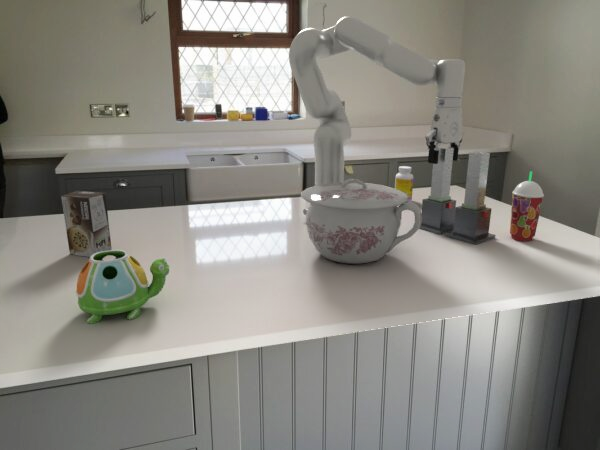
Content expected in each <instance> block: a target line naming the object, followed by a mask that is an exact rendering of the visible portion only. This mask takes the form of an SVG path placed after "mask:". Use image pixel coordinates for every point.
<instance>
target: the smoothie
mask: <svg viewBox="0 0 600 450" xmlns="http://www.w3.org/2000/svg"><path fill="white" fill-rule="evenodd" d="M532 176H533V171H529V176H528V180H524V181H522V182H520V183H518V184H517V185H516V186H515V188H514V189H513V190H512V193H511V194H512V196H511V211H510V227H509V228H510V229H509V234H510V237H511V239H513V240H516V241H519V242H530V241H533V239H534V237H535V236H536V232H537V228H538V224H539V218H540V214H541V210H542V206H543V200H544V197H545V194H544V193H543V192H544V191H543V189H542V187H541V186H540V185H539V183H537V182H536V181H532V178H533V177H532Z"/></svg>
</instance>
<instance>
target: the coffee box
mask: <svg viewBox="0 0 600 450" xmlns="http://www.w3.org/2000/svg"><path fill="white" fill-rule="evenodd" d="M106 194H107V193H106V192H96V191H88V190H87V191H86V190H75V191H72V192H69V193H67V194H64V195H61V204H62V210H63V218H64V224H65V230H66V231H65V232H66V237H67V244H68V250H69V251H68V252H69V255H71V254H73V255H72V256H81V257H88V258H90V257H91V256H92V255H93V254H95V253H97V252H102V251H109V250H113V248H112V241H111V230H110V223H109V214H108V207H107V196H106Z"/></svg>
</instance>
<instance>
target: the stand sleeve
mask: <svg viewBox="0 0 600 450" xmlns="http://www.w3.org/2000/svg"><path fill="white" fill-rule="evenodd" d="M421 204H422V205H421V213H422V223H421V226H420V228H419V230H424V231H427V232H431V233H434V234H438V235H444V234H446V233H448V232H451V231H453V229H454V219H455V209H456V207H457V200H456V199H452V198H451V200H449V201H448V202H443V203H439V202H435V201H431V200H430V199H428V197H427V198H423V199H422V203H421Z"/></svg>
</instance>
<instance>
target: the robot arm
mask: <svg viewBox="0 0 600 450" xmlns="http://www.w3.org/2000/svg"><path fill="white" fill-rule="evenodd" d="M347 51H353V52H355V53H356V54H358V55H360V56H362V57H364V58H365V59H368V60H369V61H370V62H371V63H375V64H376V65H378V66H379V67H381V68H383V69H385V70H388V71H390V72H391V73H393V74H395V75H396V76H398V77H400V78H402V79H404V80H405V81H408V82H409V83H411V84H413V85H416V86H418V87H419V86H421V87H422V86H428V85H429V86H430V85H436V86H435V95H434V96H435V99H434V110H433V113H432V116H431V123H430V131H429V132H428V133H426V135H425V136H424V137H425V141H426V142H425V143H426V144H425V145H426V146H427V149H428V156H427V157H428V159H427V163H428V164H432V165H433V164H437V163H438V156H439V150H437V149H438V148H439V147H441V144H443V145H445V144H446V145H447V144H449V147H451V148H454V151H453V161H454V162H455V161H458V159H459V152H460V151H459V149H460V147H461V143H462V141H463V138H464V134H465V132H464V131H463V126H464V125H463V122H464V121H463V120H464V117H463V108H462V101H463V91H464V81H465V73H466V63H465V60H462V59H458V58H457V59H455V58H454V59H453V58H450V59H441V60H439V59H438V60H437V59H431V58H427V57H424V56H422V55H420V54H418V53H417V52H415V51H413V50H411V49H409V48H407V47H406V46H404V45H402V44H400V43H399V42H397V41H396V39H394V37H392V36H391V35H388V34H386V33H385V32H383V31H381V30H379V29H377V28H375V27H373V26H372V25H369V24H368V23H366V22H364V21H362V20H360V19H359V18H356V17H354V16H349V15H348V16H347V15H346V16H343V17H341V18H340V19H339V20H338V21H337V22H336V24H335V25H333V26H331V27H328V28H325V29H323V30H321V29H318V28H314V27H308V28H305V29H302V30H301V31H299V32H298V33H297V34H296V35H295V37H294V38H293V40H292V41H291V44H290V46H289V52H288V60H289V66H290V69H291V73H292V75H293V77H294V80H295V82H296V85H297V88H298V89H297V90H298V92H299V95H300V97H301V99H302V103H303V106H304V109H305V111H306V113H307V115H308V116H309V117H311V118H312V119H315V120H318V122H319V126H318V127H317V128H316V130H315V131H314V134H313V148H314V186H317V185H321V184H328V183H339V182H345V153H344V146H346V145H348V143H349V142H350V141H351V137H352V127H351V124H350V122H349V119H348V116H347V112H346V111H345V108H344V105H343V102H342V100H341V98H340V96H339V95H338V93H337V92H336V91H334V90H333V89H331V88H328V87H327V85H326V83H325V79H324V77H323V73H322V71H321V68H320V67H319V65H318V63H317V59H325V58H329V57H332V56H335V55H338V54H342V53H344V52H347ZM307 209H308V208H304V209H303V210H302V212H303V214H304V215H305V216H306V210H307Z"/></svg>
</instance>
